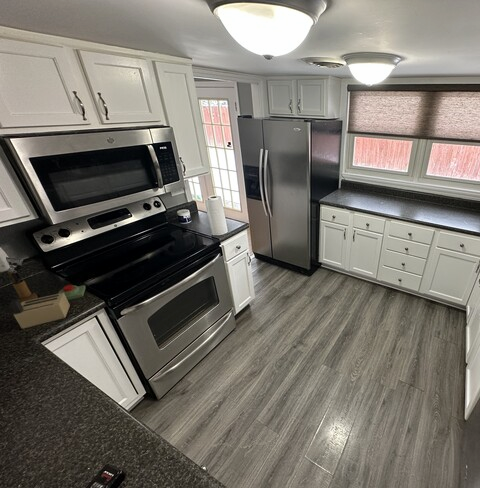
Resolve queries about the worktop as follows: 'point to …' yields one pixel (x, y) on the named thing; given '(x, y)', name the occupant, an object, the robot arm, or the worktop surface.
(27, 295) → the wooden pepper mill
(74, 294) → the panel
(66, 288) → the button
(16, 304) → the slider
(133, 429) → the worktop surface
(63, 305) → the toaster
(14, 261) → the robot arm
